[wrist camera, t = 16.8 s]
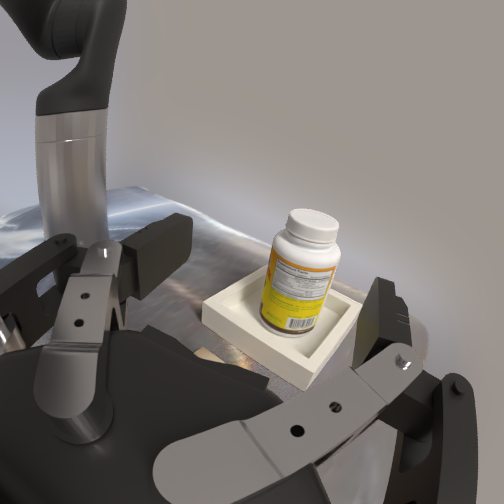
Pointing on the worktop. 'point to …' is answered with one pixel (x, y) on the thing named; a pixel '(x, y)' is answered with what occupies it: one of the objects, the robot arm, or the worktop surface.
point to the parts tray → (271, 344)
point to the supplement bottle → (299, 273)
